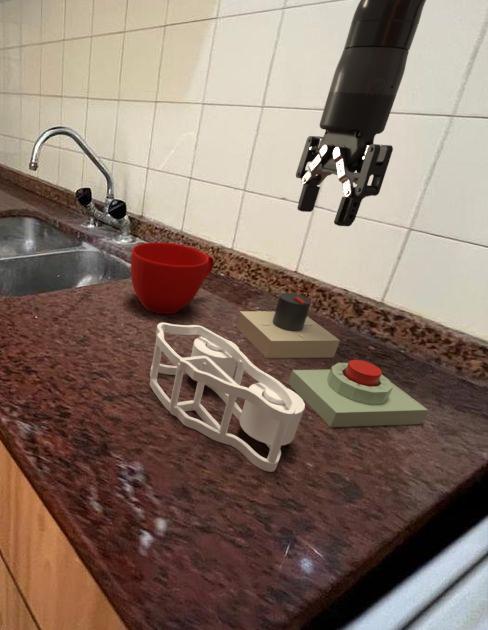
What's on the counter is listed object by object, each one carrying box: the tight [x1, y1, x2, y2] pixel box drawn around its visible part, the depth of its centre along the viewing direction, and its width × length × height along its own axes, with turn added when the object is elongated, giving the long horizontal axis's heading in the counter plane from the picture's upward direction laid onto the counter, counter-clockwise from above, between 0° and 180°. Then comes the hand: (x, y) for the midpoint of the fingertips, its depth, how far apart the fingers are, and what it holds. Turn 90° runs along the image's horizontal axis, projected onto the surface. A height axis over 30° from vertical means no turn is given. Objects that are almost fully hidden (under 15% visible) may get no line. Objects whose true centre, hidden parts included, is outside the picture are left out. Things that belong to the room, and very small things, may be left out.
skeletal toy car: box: [149, 321, 306, 473], centre depth 52 cm, size 20×11×7 cm, turn 17°
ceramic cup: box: [130, 242, 215, 315], centre depth 80 cm, size 13×17×10 cm
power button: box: [344, 359, 383, 387], centre depth 56 cm, size 4×4×2 cm
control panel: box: [235, 310, 341, 359], centre depth 71 cm, size 11×10×3 cm
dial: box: [273, 292, 312, 331], centre depth 69 cm, size 4×4×5 cm
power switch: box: [287, 362, 428, 428], centre depth 57 cm, size 12×9×4 cm
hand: (322, 217), depth 64 cm, fingers open, 8 cm apart
